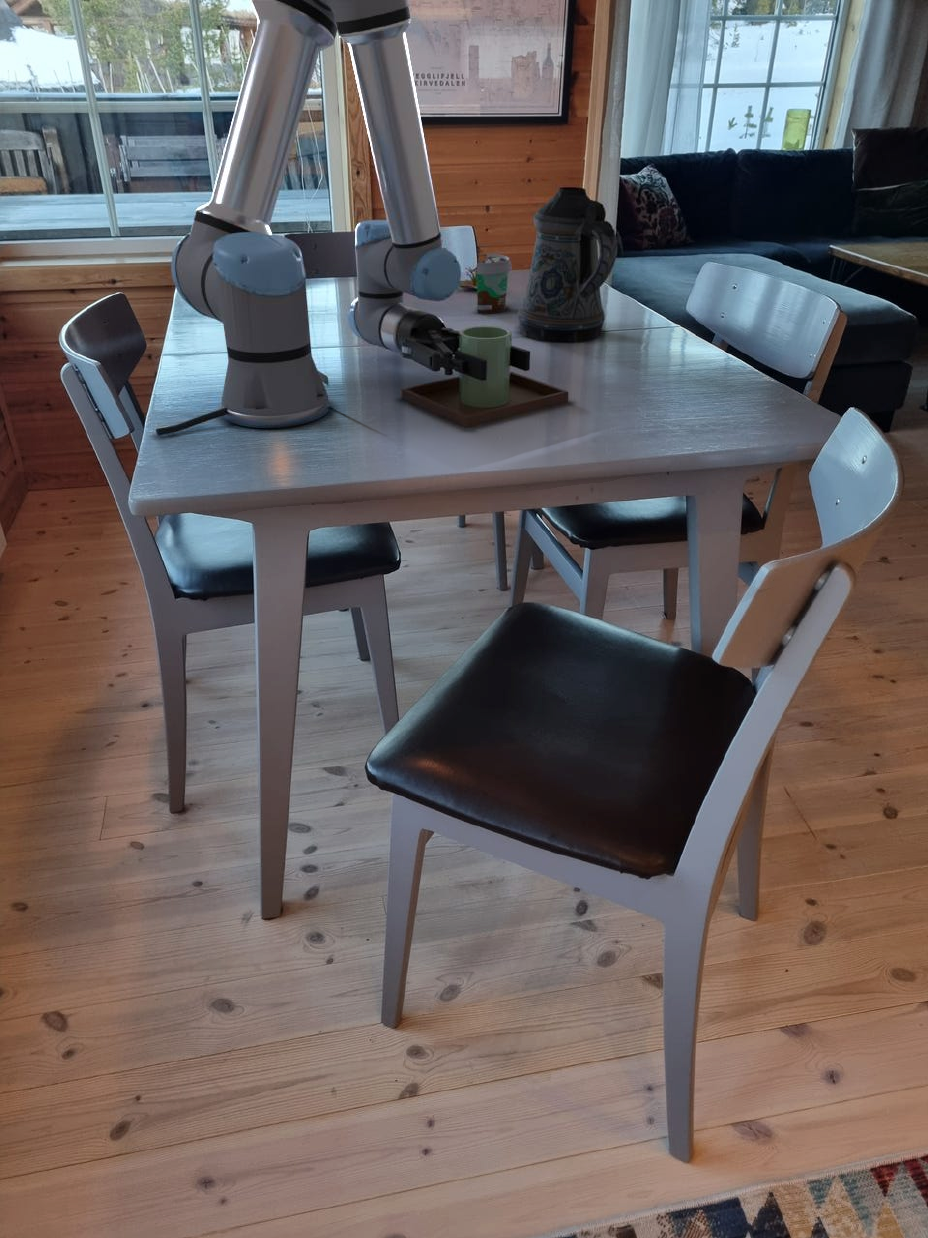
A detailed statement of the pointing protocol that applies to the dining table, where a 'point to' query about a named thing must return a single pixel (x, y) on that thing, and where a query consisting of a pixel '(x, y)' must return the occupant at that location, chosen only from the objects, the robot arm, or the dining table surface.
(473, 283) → the lily flower
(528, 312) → the beer stein
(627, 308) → the dining table surface
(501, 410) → the tray
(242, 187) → the robot arm
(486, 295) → the food container
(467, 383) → the cup
